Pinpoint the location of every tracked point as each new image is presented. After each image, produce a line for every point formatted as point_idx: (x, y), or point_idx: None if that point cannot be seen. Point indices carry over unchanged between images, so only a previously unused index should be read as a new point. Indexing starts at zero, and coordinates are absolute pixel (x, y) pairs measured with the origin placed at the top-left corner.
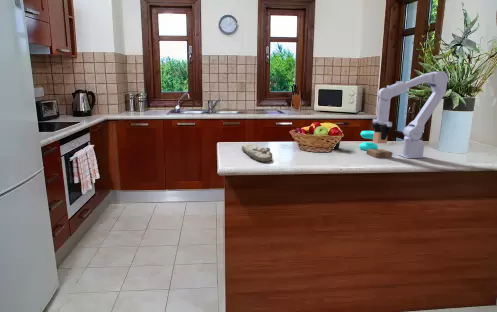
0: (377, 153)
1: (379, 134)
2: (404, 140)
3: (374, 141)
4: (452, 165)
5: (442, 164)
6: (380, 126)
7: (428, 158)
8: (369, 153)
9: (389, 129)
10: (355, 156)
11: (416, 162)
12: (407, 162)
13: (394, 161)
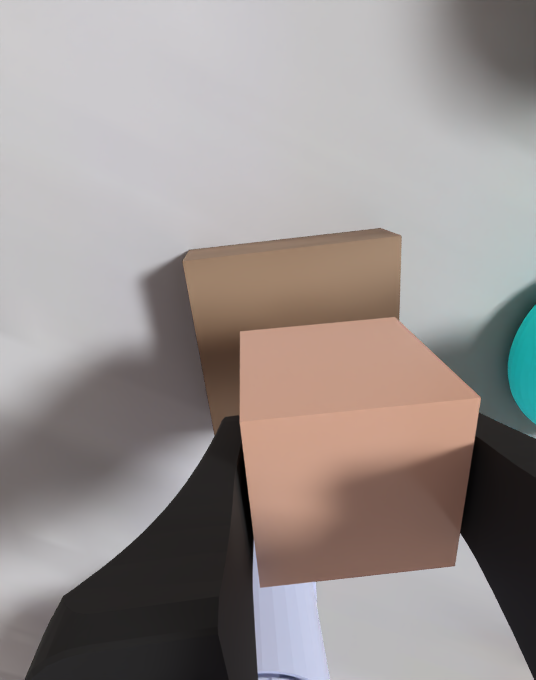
0: (188, 281)
1: (242, 431)
2: (260, 660)
3: (337, 326)
4: (5, 675)
5: (20, 641)
6: (152, 620)
7: None
8: (320, 238)
9: None
10: (252, 7)
11: (46, 523)
12: (30, 463)
13: (46, 374)
